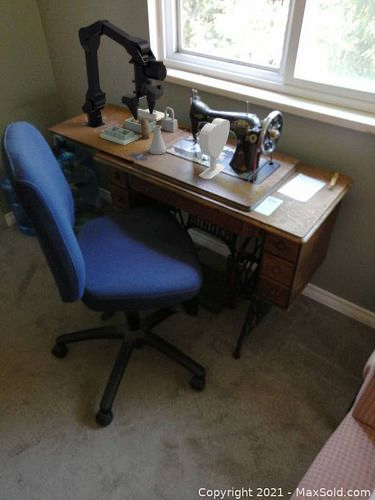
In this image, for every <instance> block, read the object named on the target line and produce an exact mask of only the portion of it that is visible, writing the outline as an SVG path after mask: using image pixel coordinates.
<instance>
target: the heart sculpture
mask: <svg viewBox="0 0 375 500" xmlns="http://www.w3.org/2000/svg"><path fill="white" fill-rule="evenodd" d="M230 124H231V122H230V120H229V119H224V118H220V117H216V118H214V119H213V120H212V122H211V123H210V122H207V123H206V124H205V125H204V126H203V127H202V128H201V130H200V132H199V137H198V143H199V144H198V145H199V146H198V147H199V149H200V151H201V153H203V154H204V155H205V156H208V157H209V159H210V160H209V167H207V168H206V169H204V171H203V172H201V173H200V174H198V176H199V177H200V178H202V179H206V180H210V179H211V180H212V179H213V178H214V177H216V175H218V174H219V173H220V172H221V171H223V170H224V169H225V168H226V167H225V166H226V165H225V164H222V163H217V160H218V159H219V157H220V156H221V154H222V151H223V150H224V148H225V147H226V144H227V142H228V137H229V135H230V134H229V133H230V128H231V125H230Z"/></svg>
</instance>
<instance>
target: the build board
mask: <svg viewBox="0 0 375 500" xmlns="http://www.w3.org/2000/svg"><path fill="white" fill-rule="evenodd" d="M99 136H100V138H102V139H104V140H108V141H112V142H113V143H117V144H120V145H122V146H125V145H128V144H129V143H132V142H135V141H137V140H138V139H140V135H138V134H135V131H132V130H129V129H126V128H122V127H119V126H117V125H112V126H109V127H106V128H104V129H103V133H101V134H100V135H99Z"/></svg>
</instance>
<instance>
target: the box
mask: <svg viewBox="0 0 375 500" xmlns="http://www.w3.org/2000/svg"><path fill="white" fill-rule="evenodd" d="M143 118H144V117H141V116H138V120H135V119H134V117H133V116H132V117H130V118H127V119H124V122H123V123H124V129H127V130H130V131H133V132H134V133H135V132H136V133H139V134H141V119H143ZM147 119H148V118H147ZM148 126H149V133H152V132H154V129H153V126H158V125H157V121H155V120H151V119H148Z"/></svg>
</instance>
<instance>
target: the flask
mask: <svg viewBox="0 0 375 500" xmlns="http://www.w3.org/2000/svg"><path fill="white" fill-rule="evenodd" d="M153 129H154V131H153V137H152V140H151V144H150V147H149V150H148V152H149V154H152V155H164V154H166V153H167V152H168V150H167V147H166V145H165V142H164V139H163V136H162V132H161V130H162V125H157V126H153Z"/></svg>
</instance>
